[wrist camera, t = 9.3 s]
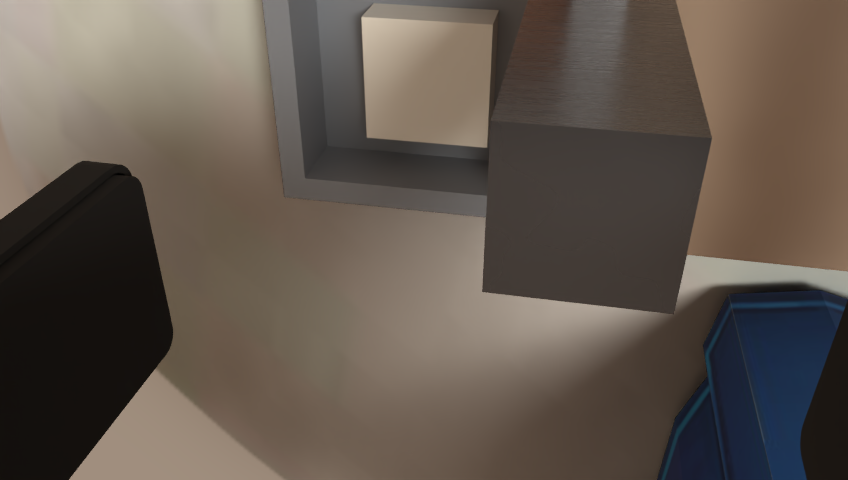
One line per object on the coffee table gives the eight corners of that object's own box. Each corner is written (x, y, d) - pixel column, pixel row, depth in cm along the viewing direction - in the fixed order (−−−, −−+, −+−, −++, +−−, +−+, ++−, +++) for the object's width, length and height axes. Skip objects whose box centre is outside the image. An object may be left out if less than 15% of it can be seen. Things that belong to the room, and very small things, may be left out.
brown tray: (1090, -310, 18) (1198, -322, 15) (893, 210, 26) (936, 280, 22) (646, -305, 20) (654, -315, 16) (585, 182, 27) (582, 243, 24)
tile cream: (361, 16, 24) (373, 3, 25) (366, 137, 26) (377, 119, 27) (492, 24, 23) (498, 10, 24) (487, 147, 25) (492, 128, 26)
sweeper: (700, -259, 16) (798, -258, 8) (623, 224, 23) (632, 504, 15) (558, -258, 17) (509, -258, 9) (521, 214, 23) (473, 479, 15)
